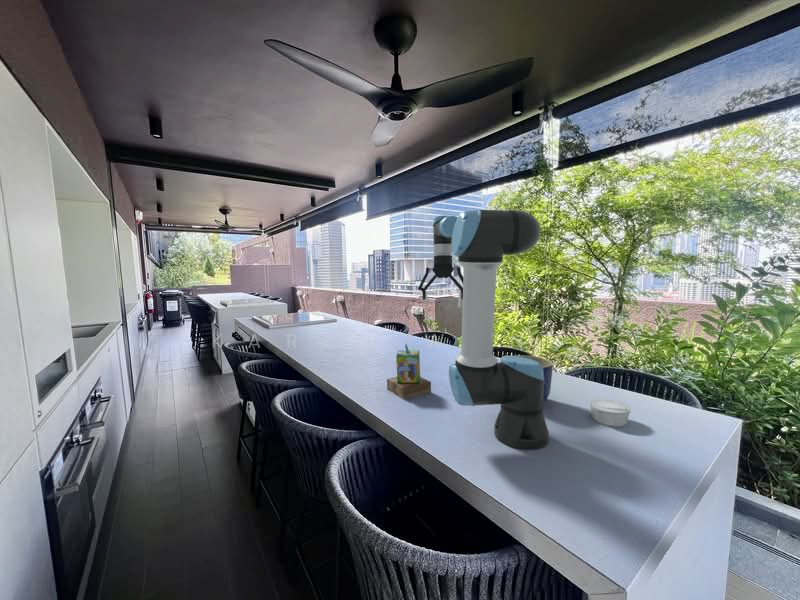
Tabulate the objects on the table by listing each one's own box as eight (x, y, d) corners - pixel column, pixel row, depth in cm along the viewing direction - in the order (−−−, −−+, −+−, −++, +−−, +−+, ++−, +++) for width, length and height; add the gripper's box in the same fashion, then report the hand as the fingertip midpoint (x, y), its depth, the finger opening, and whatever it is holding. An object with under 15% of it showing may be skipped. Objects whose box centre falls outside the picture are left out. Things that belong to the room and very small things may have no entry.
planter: (499, 405, 124) (499, 364, 123) (508, 390, 139) (508, 353, 138) (550, 413, 117) (551, 369, 115) (553, 397, 132) (554, 358, 130)
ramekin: (609, 431, 104) (610, 414, 103) (581, 416, 115) (581, 400, 114) (638, 426, 107) (639, 409, 106) (608, 412, 118) (608, 397, 117)
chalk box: (419, 383, 135) (419, 346, 134) (396, 383, 136) (395, 346, 135) (420, 376, 144) (419, 342, 143) (398, 376, 145) (398, 342, 144)
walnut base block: (431, 393, 138) (430, 381, 138) (403, 400, 132) (403, 387, 131) (413, 384, 150) (413, 373, 149) (387, 390, 143) (386, 379, 142)
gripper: (472, 255, 142) (472, 306, 143) (412, 256, 144) (413, 306, 146) (475, 254, 134) (475, 308, 136) (411, 255, 136) (412, 308, 138)
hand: (443, 307), depth 141 cm, fingers open, 13 cm apart
